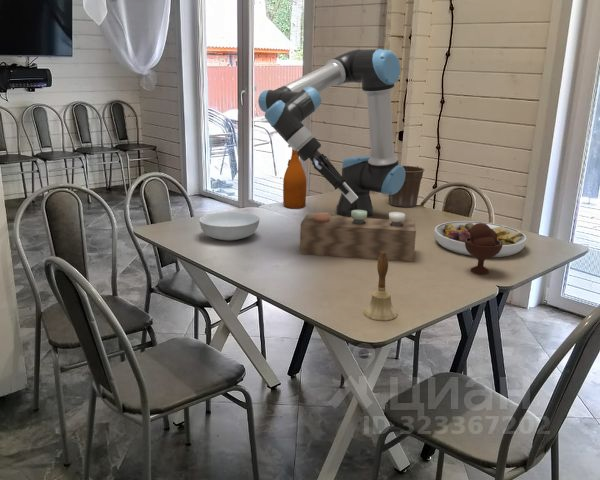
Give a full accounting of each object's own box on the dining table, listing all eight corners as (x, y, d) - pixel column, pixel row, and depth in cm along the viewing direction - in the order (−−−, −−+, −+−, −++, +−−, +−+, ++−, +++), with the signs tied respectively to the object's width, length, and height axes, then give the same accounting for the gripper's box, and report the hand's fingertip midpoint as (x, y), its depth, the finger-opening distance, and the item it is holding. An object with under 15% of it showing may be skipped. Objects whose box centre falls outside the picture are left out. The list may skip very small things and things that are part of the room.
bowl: (452, 229, 216) (454, 209, 214) (534, 244, 200) (537, 222, 197) (419, 248, 193) (421, 226, 190) (509, 267, 176) (513, 243, 174)
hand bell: (359, 317, 139) (363, 255, 134) (368, 304, 146) (371, 245, 141) (393, 323, 136) (398, 260, 131) (400, 310, 143) (405, 249, 138)
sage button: (350, 231, 183) (350, 213, 181) (351, 227, 187) (352, 209, 186) (365, 232, 182) (366, 214, 180) (366, 228, 187) (367, 210, 185)
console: (300, 253, 184) (300, 223, 181) (305, 242, 195) (306, 214, 192) (413, 261, 178) (415, 231, 176) (412, 250, 190) (415, 221, 187)
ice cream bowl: (494, 280, 164) (500, 230, 160) (456, 272, 170) (461, 224, 165) (503, 270, 173) (509, 222, 168) (466, 263, 178) (471, 216, 174)
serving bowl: (252, 227, 213) (251, 209, 211) (266, 243, 194) (266, 223, 192) (195, 231, 207) (195, 212, 205) (204, 248, 188) (204, 228, 186)
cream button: (387, 233, 181) (389, 215, 179) (388, 229, 186) (389, 211, 184) (403, 234, 180) (405, 216, 178) (403, 230, 185) (405, 212, 183)
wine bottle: (306, 204, 249) (308, 134, 240) (304, 209, 240) (306, 137, 231) (284, 203, 250) (285, 134, 241) (281, 208, 241) (282, 136, 232)
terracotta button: (312, 233, 185) (313, 215, 183) (315, 229, 190) (315, 211, 188) (328, 234, 184) (328, 216, 183) (329, 230, 189) (330, 212, 187)
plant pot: (401, 198, 263) (404, 163, 258) (429, 205, 251) (432, 169, 246) (376, 203, 253) (378, 167, 248) (404, 210, 241) (407, 172, 236)
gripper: (300, 149, 185) (348, 203, 188) (291, 155, 173) (343, 212, 175) (316, 133, 183) (365, 188, 185) (309, 138, 171) (361, 197, 173)
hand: (354, 200), depth 180 cm, fingers closed
